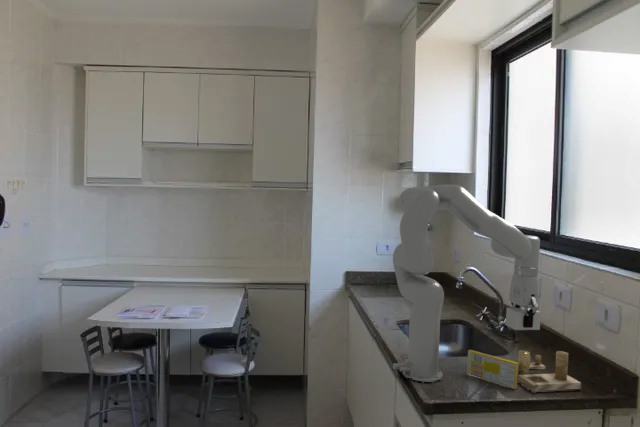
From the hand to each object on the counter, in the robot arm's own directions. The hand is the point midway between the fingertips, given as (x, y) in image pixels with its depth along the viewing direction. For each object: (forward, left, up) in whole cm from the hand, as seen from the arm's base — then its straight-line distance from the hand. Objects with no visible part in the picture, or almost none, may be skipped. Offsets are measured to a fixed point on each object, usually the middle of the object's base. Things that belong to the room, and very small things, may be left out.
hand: (522, 324), depth 172 cm
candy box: (-17, -11, -15) cm, 25 cm away
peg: (-4, -8, -15) cm, 17 cm away
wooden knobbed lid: (+4, -1, -15) cm, 16 cm away
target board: (-1, -17, -15) cm, 22 cm away
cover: (0, 0, -1) cm, 1 cm away
